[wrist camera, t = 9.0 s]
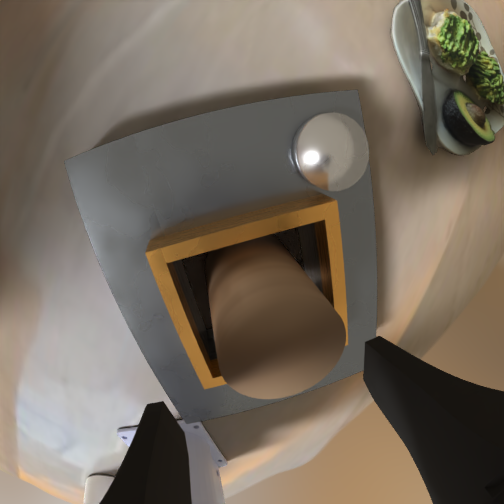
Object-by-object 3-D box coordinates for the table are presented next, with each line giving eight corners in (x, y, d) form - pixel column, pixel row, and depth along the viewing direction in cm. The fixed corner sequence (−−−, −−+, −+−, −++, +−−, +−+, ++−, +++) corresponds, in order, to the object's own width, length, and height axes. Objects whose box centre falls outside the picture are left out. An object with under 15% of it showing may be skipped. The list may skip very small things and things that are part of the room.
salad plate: (332, -13, 13) (358, -34, 10) (445, -28, 12) (471, -38, 9) (425, 177, 19) (459, 188, 16) (506, 117, 18) (534, 121, 15)
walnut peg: (293, 290, 19) (346, 375, 12) (217, 312, 19) (237, 411, 12) (279, 217, 17) (343, 280, 10) (194, 240, 17) (200, 323, 10)
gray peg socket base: (356, 342, 22) (383, 378, 18) (184, 394, 21) (187, 440, 17) (331, 95, 15) (374, 86, 11) (84, 155, 14) (50, 164, 10)
